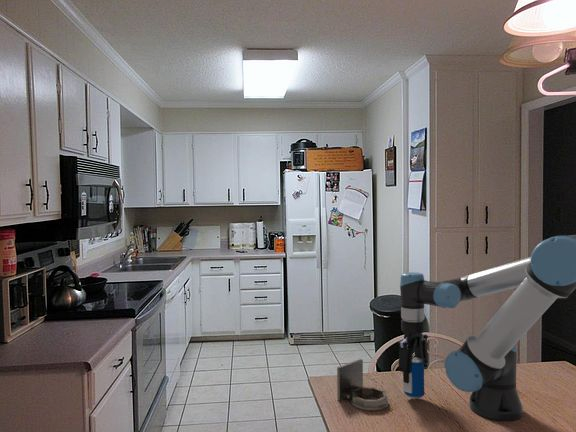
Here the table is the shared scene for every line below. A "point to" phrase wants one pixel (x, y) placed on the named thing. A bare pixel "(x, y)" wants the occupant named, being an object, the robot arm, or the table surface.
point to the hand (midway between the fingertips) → (414, 388)
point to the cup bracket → (358, 388)
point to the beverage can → (417, 378)
